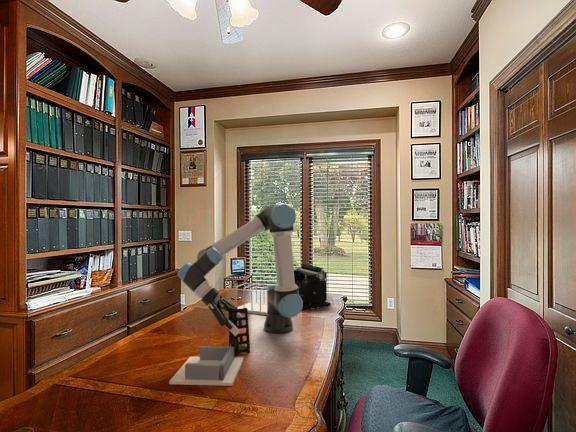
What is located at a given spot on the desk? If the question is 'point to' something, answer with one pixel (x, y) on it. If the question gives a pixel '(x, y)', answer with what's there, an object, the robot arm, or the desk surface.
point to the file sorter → (253, 307)
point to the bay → (210, 367)
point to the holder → (233, 318)
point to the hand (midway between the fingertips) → (241, 328)
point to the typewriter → (311, 286)
